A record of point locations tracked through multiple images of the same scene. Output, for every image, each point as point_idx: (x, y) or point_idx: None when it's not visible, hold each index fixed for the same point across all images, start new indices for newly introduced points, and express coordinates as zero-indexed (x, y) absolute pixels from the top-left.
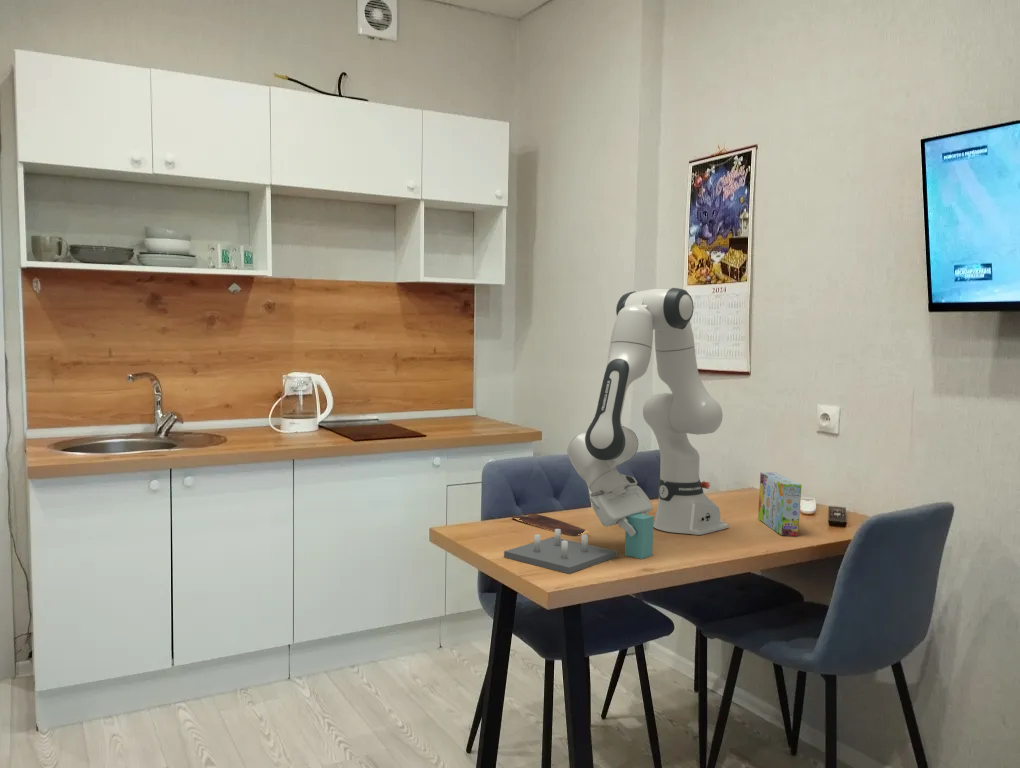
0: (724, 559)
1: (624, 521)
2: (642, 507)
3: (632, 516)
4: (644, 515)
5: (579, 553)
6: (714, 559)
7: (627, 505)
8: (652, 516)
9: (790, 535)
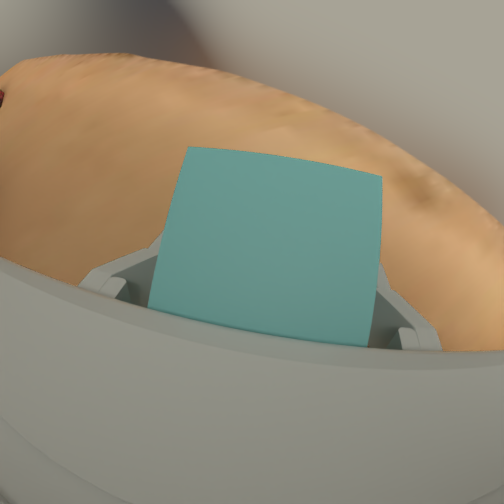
0: (169, 68)
1: (436, 338)
2: (47, 299)
3: (338, 319)
4: (208, 224)
5: None
6: (180, 80)
7: (279, 460)
8: (207, 148)
9: (2, 98)
